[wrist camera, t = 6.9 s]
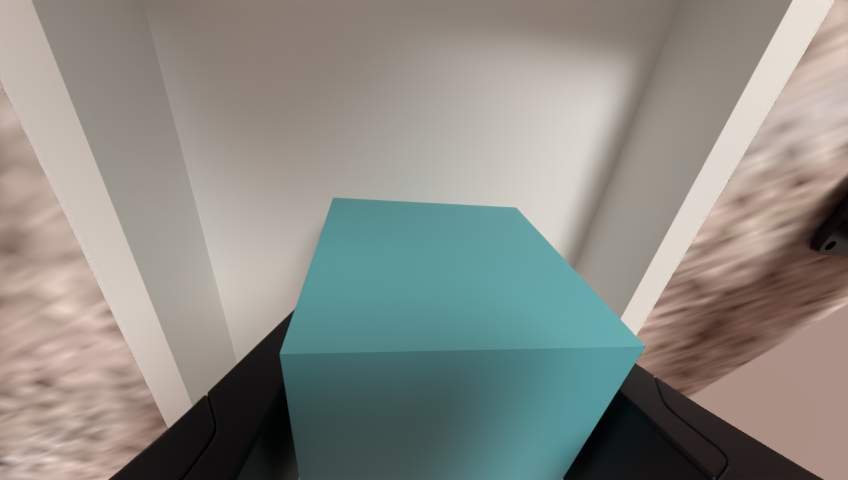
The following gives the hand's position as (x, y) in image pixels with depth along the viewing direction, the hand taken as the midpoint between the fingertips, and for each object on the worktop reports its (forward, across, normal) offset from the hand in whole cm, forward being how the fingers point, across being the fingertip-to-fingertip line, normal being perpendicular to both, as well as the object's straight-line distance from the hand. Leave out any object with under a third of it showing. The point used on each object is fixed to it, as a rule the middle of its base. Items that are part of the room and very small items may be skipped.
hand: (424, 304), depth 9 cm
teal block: (+1, 0, 0) cm, 1 cm away
